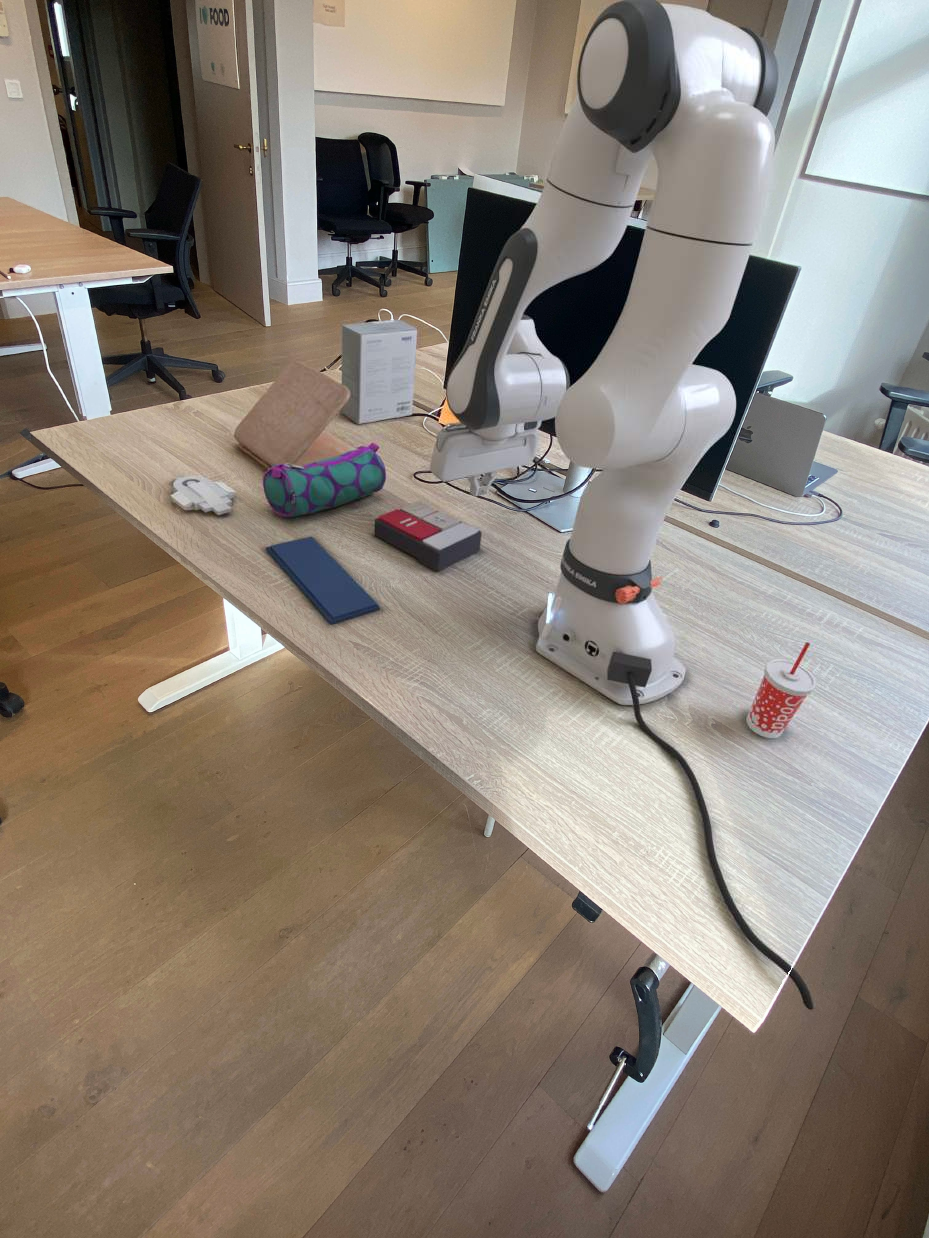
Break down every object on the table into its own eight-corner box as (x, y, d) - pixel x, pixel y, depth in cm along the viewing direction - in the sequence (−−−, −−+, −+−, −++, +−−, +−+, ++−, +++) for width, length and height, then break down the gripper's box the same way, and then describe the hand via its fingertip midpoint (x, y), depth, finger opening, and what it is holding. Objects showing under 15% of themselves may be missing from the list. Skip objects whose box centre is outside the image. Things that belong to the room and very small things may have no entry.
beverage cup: (743, 736, 90) (787, 653, 81) (737, 705, 94) (777, 623, 86) (791, 747, 89) (840, 664, 81) (782, 714, 94) (827, 633, 86)
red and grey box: (418, 497, 124) (483, 527, 116) (417, 519, 126) (480, 550, 119) (373, 515, 117) (439, 548, 109) (373, 538, 119) (437, 572, 111)
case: (230, 446, 140) (223, 365, 130) (319, 429, 152) (320, 354, 142) (283, 487, 128) (280, 402, 119) (375, 465, 141) (379, 387, 131)
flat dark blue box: (379, 609, 102) (380, 604, 101) (330, 624, 98) (330, 619, 97) (311, 539, 115) (311, 534, 115) (265, 549, 111) (265, 545, 110)
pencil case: (291, 530, 117) (290, 477, 111) (262, 508, 121) (260, 456, 116) (387, 500, 130) (390, 451, 124) (358, 481, 134) (359, 434, 128)
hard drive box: (394, 405, 170) (400, 319, 158) (413, 416, 165) (420, 328, 154) (339, 413, 161) (341, 323, 149) (357, 425, 157) (360, 333, 145)
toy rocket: (251, 509, 120) (250, 497, 119) (199, 525, 114) (197, 512, 113) (202, 475, 128) (200, 463, 127) (151, 487, 122) (149, 475, 121)
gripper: (450, 433, 105) (440, 513, 113) (549, 417, 116) (533, 491, 124) (427, 417, 109) (419, 496, 117) (525, 403, 120) (511, 476, 128)
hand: (478, 493), depth 121 cm, fingers closed
